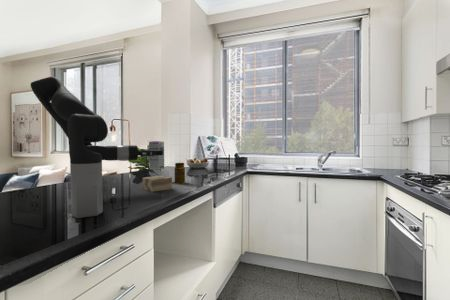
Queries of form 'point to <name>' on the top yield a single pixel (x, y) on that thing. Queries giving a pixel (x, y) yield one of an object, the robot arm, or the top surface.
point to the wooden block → (156, 183)
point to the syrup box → (157, 160)
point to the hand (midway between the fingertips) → (160, 152)
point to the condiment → (179, 173)
